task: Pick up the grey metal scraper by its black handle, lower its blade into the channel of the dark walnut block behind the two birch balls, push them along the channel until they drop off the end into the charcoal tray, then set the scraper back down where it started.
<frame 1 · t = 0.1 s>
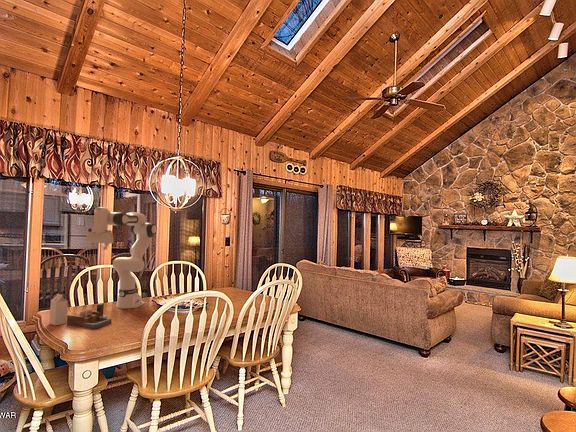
hand: (99, 249, 244), 48 cm above the table, tool pointing down, fingers open, 8 cm apart
milk carton: (58, 323, 226), on the table
tray: (96, 325, 225), on the table
birch ball right: (83, 314, 225), point 7 cm above the table, touching channel block
birch ball left: (89, 312, 230), point 7 cm above the table, touching channel block
channel block: (83, 323, 228), on the table
scraper: (99, 318, 240), on the table
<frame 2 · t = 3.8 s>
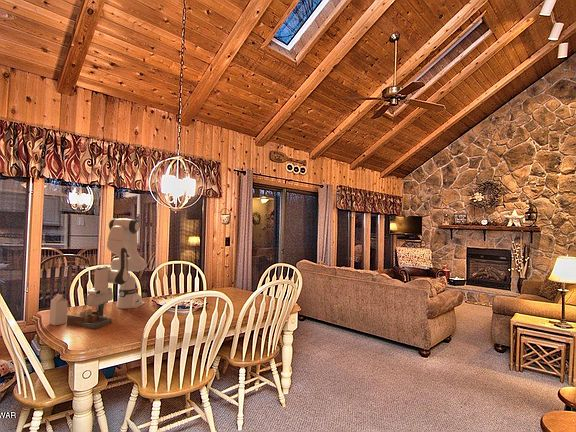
hand: (100, 309, 240), 6 cm above the table, tool pointing down, fingers closed on scraper, 3 cm apart
scraper: (99, 318, 240), on the table, touching gripper
everything else where it was.
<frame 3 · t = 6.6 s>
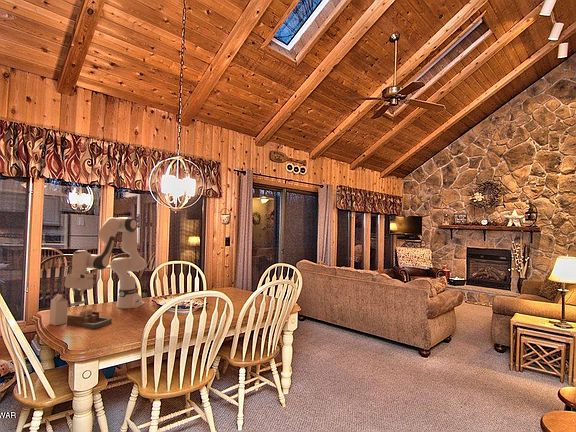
hand: (78, 295, 229), 18 cm above the table, tool pointing down, fingers closed on scraper, 3 cm apart
scraper: (77, 304, 229), point 12 cm above the table, touching gripper
everything else where it was.
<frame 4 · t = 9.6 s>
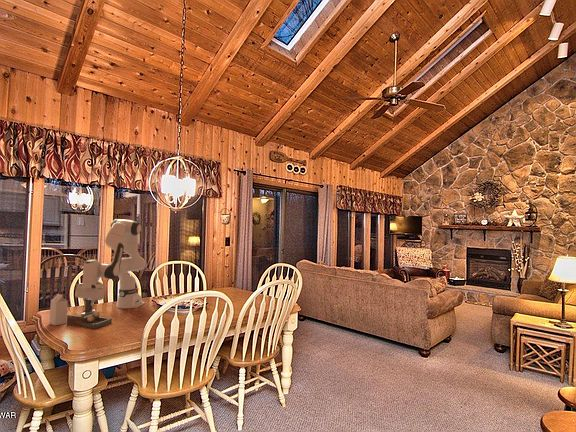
hand: (89, 305, 227), 12 cm above the table, tool pointing down, fingers closed on scraper, 3 cm apart
birch ball right: (90, 318, 223), point 5 cm above the table, tilted 158°
birch ball left: (96, 314, 229), point 6 cm above the table, tilted 173°
scraper: (88, 314, 227), point 6 cm above the table, touching gripper
everything else where it was.
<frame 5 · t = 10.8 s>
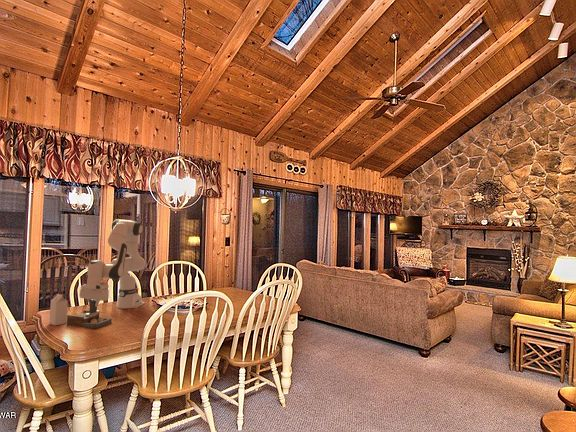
hand: (93, 305, 226), 12 cm above the table, tool pointing down, fingers closed on scraper, 3 cm apart
birch ball right: (93, 322, 222), point 3 cm above the table, tilted 59°, touching tray
birch ball left: (100, 319, 228), point 3 cm above the table, tilted 58°, touching tray
scraper: (92, 315, 226), point 6 cm above the table, touching gripper
everything else where it was.
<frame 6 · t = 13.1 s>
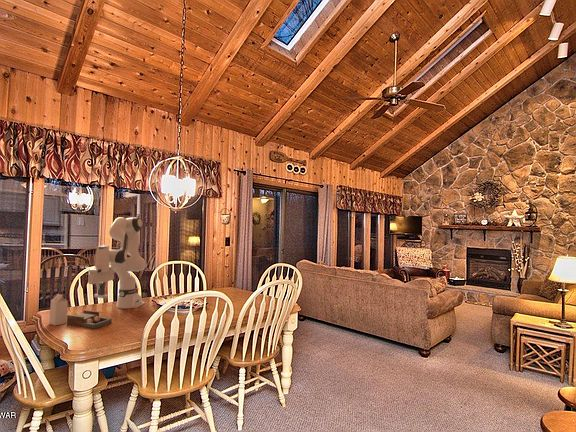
hand: (101, 288, 241), 21 cm above the table, tool pointing down, fingers closed on scraper, 3 cm apart
birch ball right: (89, 321, 223), point 3 cm above the table, tilted 152°, touching tray
birch ball left: (96, 319, 229), point 3 cm above the table, tilted 152°, touching tray
scraper: (100, 297, 241), point 15 cm above the table, touching gripper
everything else where it was.
when the fingers open (8 cm above the table, at t = 15.7 s): scraper drops 1 cm, on the table.
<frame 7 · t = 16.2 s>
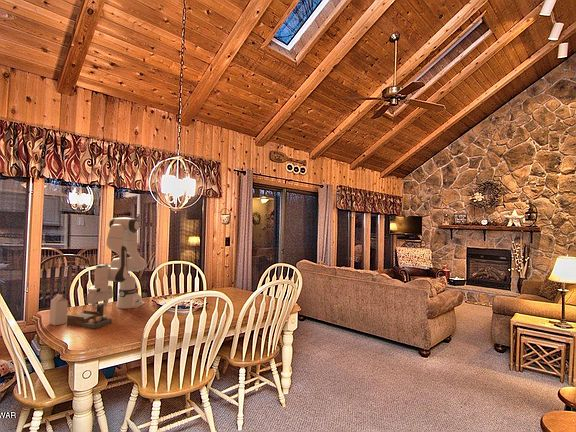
hand: (100, 307, 240), 8 cm above the table, tool pointing down, fingers open, 8 cm apart
birch ball right: (91, 322, 223), point 3 cm above the table, tilted 113°, touching tray
birch ball left: (98, 319, 229), point 3 cm above the table, tilted 122°, touching tray
scraper: (99, 318, 240), on the table
everything else where it was.
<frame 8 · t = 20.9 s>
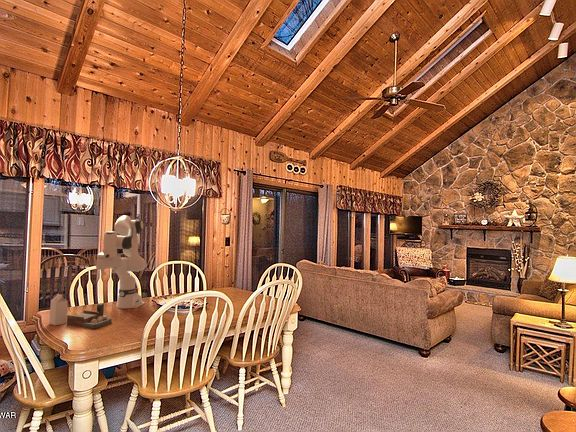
hand: (108, 274, 240), 31 cm above the table, tool pointing down, fingers open, 8 cm apart
birch ball right: (94, 322, 222), point 3 cm above the table, tilted 53°, touching tray
birch ball left: (100, 319, 228), point 3 cm above the table, tilted 77°, touching tray
everything else where it was.
at the end: birch ball left inside the target area on the tray (2.9 cm from its centre), point 2.8 cm above the tray's base; birch ball right inside the target area on the tray (3.4 cm from its centre), point 2.8 cm above the tray's base; scraper inside the target area (0.1 cm from its centre), on the table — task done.
